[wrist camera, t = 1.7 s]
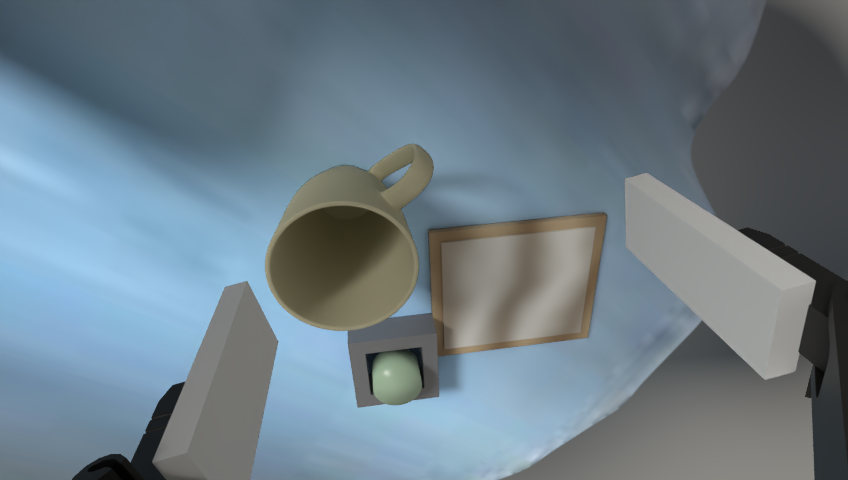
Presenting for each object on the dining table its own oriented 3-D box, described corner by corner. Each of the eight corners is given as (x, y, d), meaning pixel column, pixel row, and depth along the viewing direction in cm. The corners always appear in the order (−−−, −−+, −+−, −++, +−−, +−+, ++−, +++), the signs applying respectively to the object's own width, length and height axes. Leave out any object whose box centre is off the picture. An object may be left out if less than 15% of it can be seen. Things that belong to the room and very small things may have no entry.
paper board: (433, 352, 48) (434, 358, 47) (428, 229, 41) (429, 234, 40) (585, 333, 49) (588, 338, 48) (603, 212, 42) (608, 216, 42)
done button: (374, 385, 46) (375, 408, 43) (369, 350, 44) (370, 372, 41) (419, 379, 46) (422, 401, 44) (416, 345, 44) (420, 366, 42)
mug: (409, 242, 41) (428, 329, 31) (292, 241, 40) (270, 333, 29) (418, 116, 36) (444, 170, 26) (284, 110, 35) (255, 164, 24)
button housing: (357, 384, 48) (357, 407, 46) (348, 322, 44) (347, 344, 42) (434, 374, 49) (439, 396, 46) (431, 313, 45) (436, 333, 43)
